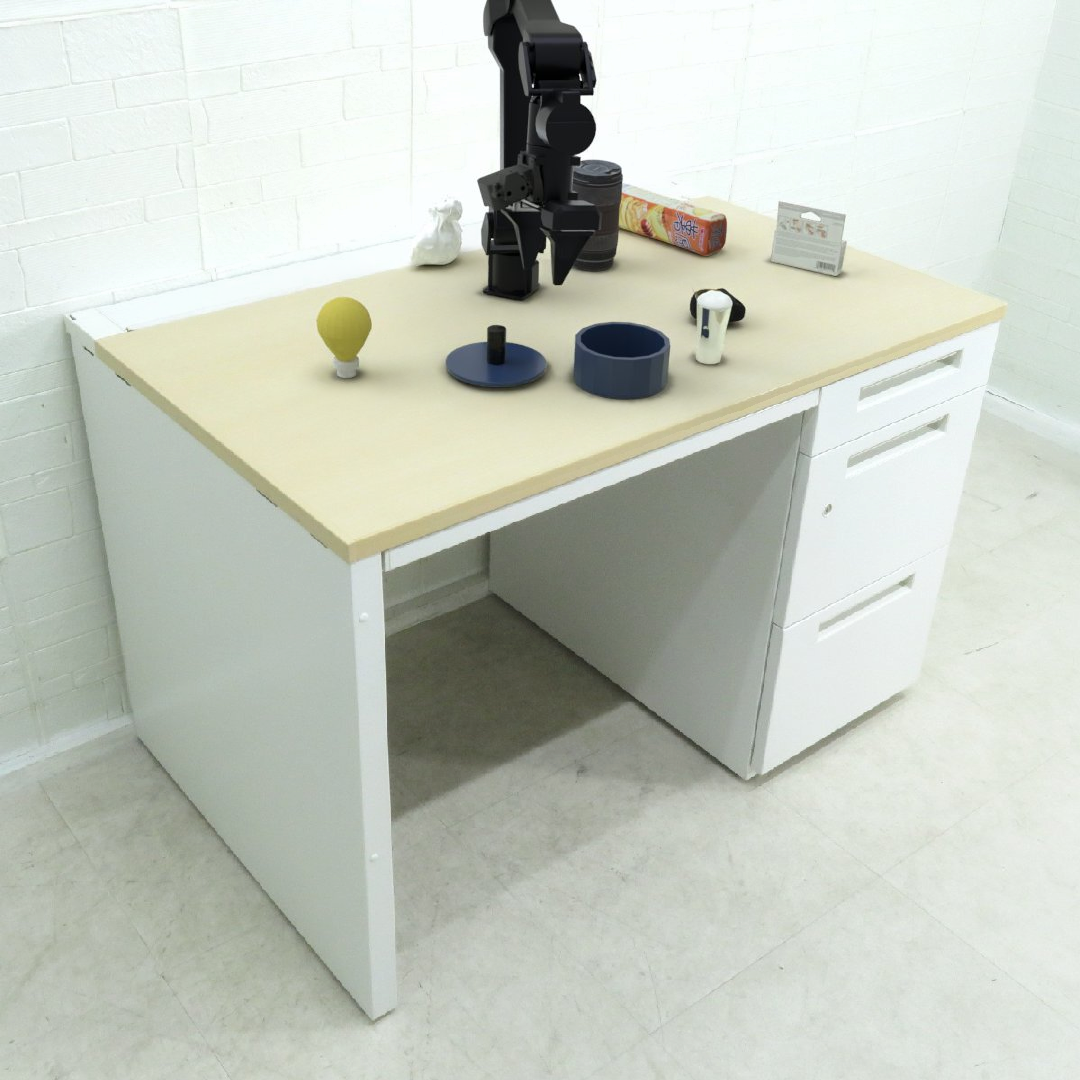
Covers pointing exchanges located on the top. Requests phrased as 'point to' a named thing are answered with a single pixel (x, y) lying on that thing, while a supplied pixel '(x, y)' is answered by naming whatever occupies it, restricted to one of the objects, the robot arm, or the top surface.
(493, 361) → the tin lid
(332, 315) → the light bulb
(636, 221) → the snack package
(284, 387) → the top surface
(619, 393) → the tin
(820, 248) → the ink cartridge box
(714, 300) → the milkshake
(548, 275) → the top surface
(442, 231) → the bust
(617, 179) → the camera lens
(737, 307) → the tape measure
